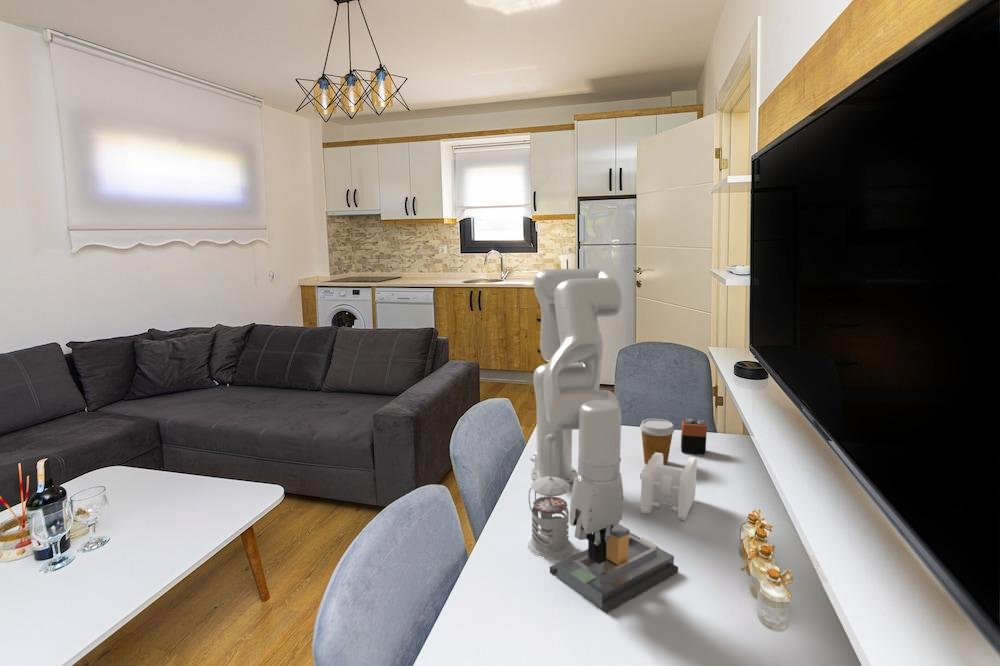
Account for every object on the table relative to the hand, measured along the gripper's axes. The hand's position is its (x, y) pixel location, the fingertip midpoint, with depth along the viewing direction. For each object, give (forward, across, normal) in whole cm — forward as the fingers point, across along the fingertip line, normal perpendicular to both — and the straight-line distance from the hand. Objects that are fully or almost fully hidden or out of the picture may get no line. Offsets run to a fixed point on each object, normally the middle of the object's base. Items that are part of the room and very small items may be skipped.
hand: (597, 559), depth 108 cm
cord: (+5, -5, -8) cm, 10 cm away
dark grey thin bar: (+5, -5, +6) cm, 10 cm away
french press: (+5, -2, -16) cm, 17 cm away
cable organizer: (+5, -35, -11) cm, 37 cm away
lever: (+2, -5, 0) cm, 5 cm away
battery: (+5, -70, -29) cm, 76 cm away
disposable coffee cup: (+5, -54, -30) cm, 62 cm away
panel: (+5, -5, 0) cm, 7 cm away
